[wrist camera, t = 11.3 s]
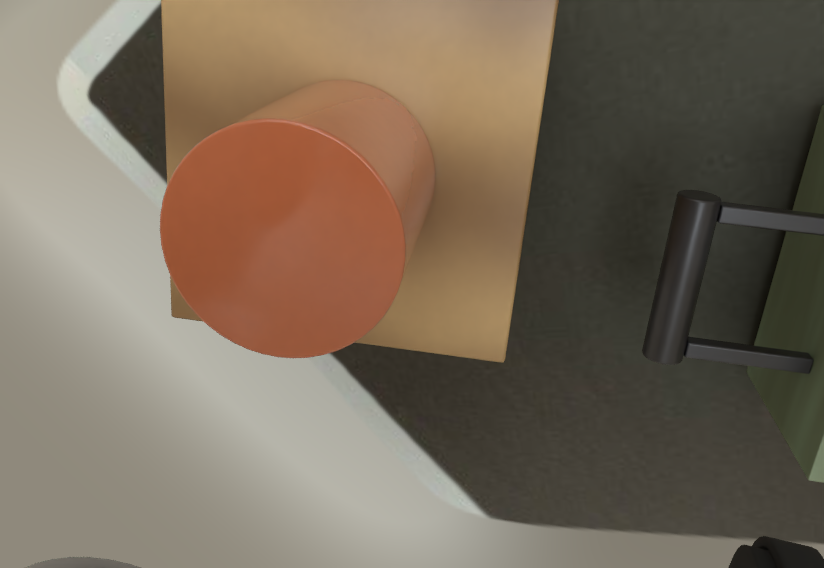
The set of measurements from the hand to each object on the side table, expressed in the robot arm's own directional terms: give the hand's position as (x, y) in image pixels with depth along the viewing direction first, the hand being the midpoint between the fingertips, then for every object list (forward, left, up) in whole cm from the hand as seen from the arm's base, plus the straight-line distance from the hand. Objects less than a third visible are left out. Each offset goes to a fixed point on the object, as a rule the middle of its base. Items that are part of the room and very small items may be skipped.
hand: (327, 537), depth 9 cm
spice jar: (+1, +3, -13) cm, 13 cm away
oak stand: (+1, +3, -25) cm, 25 cm away
